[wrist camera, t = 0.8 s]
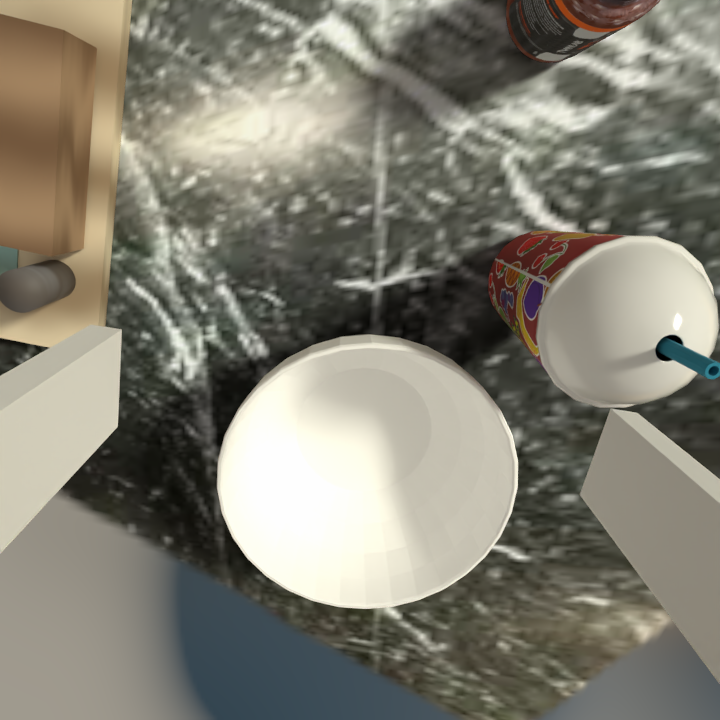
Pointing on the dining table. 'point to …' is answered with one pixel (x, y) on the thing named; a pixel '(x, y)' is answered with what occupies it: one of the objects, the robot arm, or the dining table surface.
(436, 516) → the bowl
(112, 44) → the board
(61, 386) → the robot arm
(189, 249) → the dining table surface
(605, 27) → the supplement bottle
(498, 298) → the smoothie
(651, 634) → the dining table surface
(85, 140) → the leg
